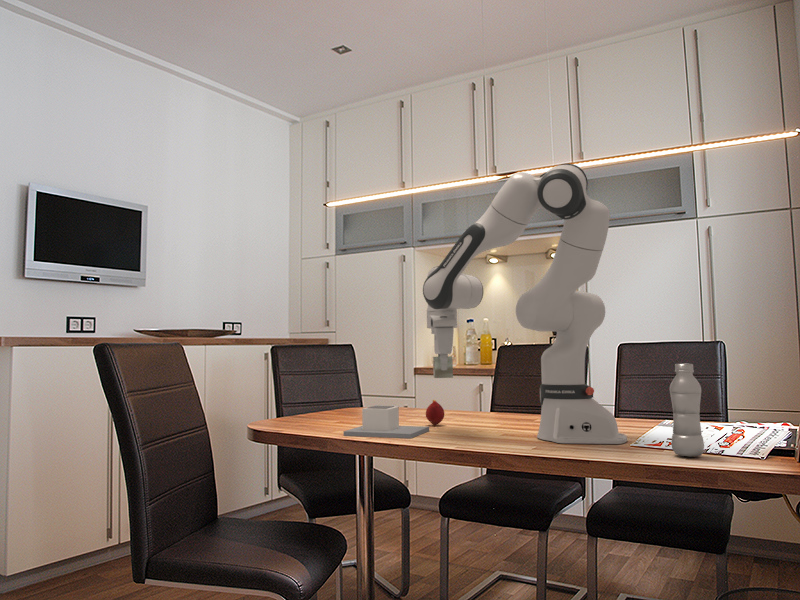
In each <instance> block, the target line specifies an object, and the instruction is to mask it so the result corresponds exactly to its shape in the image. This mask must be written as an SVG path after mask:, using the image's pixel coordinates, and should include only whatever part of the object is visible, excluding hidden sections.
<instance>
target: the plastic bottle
mask: <svg viewBox="0 0 800 600" xmlns="http://www.w3.org/2000/svg"><path fill="white" fill-rule="evenodd" d="M674 373H676V375H675V376H674V377H673V379H672V381H671V383H670V385H669V394H670V395H669V396H670V400H671V406H672V413H673V414H672V416H673V418H672V419H673V423H672V436H671V442H670V443H671V449H672V452H673V453H674V455H678V456H680V457H684V456H689V457H688V458H693V457H692V456H696V457H700V456H702V454H703V453H704V450H705V443H704V438H703V435H702V427H701V415H700V412H701V397H702V386H701V383H699V381H698V379H697V378H696V377H695V376H694V375H693V373H695V370H694V364H693V363H675V364H674Z"/></svg>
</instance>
